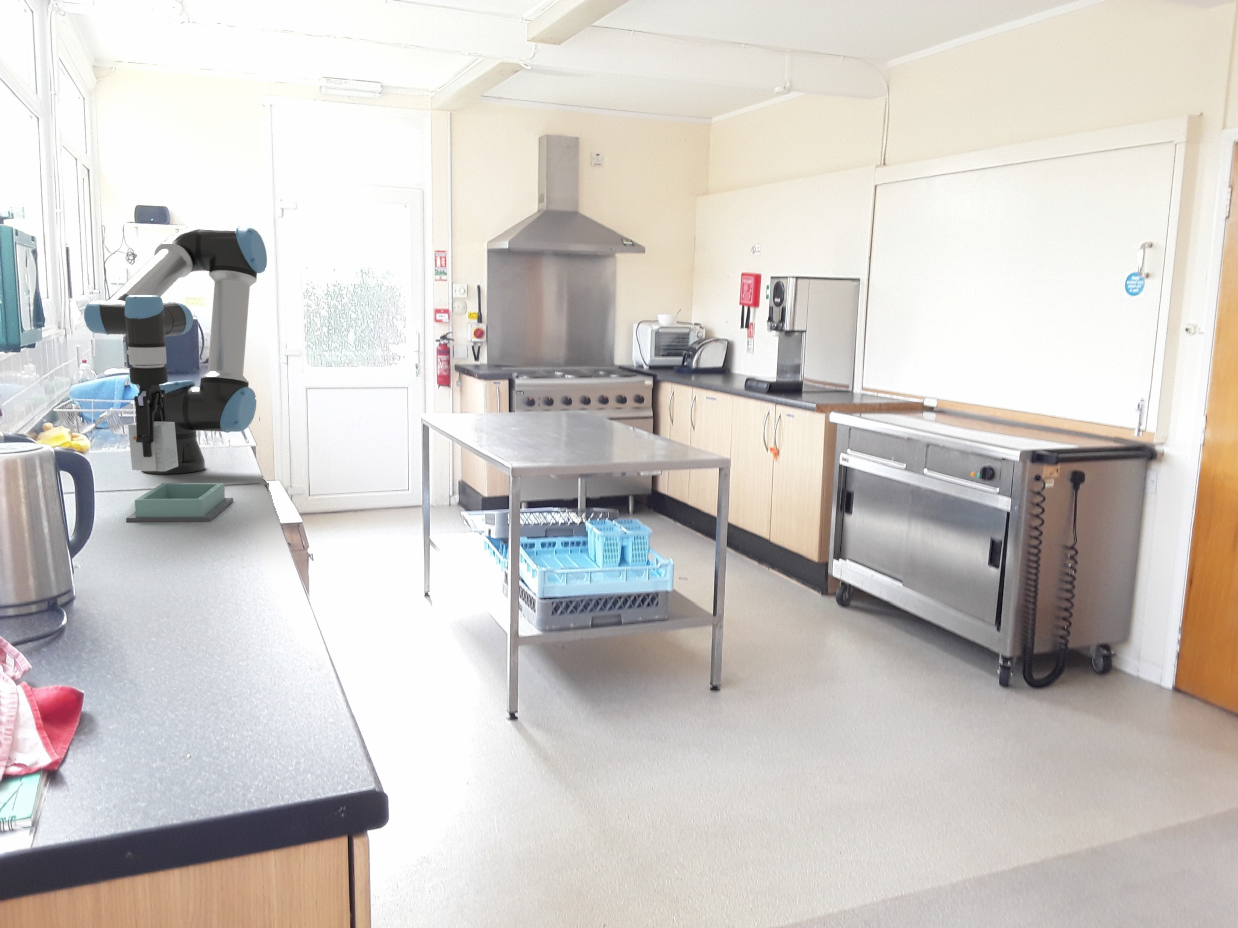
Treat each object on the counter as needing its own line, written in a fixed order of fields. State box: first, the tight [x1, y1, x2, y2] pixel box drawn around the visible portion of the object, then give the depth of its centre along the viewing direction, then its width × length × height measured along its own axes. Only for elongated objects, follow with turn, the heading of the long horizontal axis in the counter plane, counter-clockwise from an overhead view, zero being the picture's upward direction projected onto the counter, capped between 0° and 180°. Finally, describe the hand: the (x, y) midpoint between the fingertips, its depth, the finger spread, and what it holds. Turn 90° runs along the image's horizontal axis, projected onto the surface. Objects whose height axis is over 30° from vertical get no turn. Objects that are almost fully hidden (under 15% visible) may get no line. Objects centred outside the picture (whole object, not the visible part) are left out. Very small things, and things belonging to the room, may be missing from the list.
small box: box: [127, 421, 178, 472], centre depth 213 cm, size 8×6×10 cm
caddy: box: [125, 482, 234, 523], centre depth 201 cm, size 20×16×4 cm
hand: (155, 467), depth 214 cm, fingers closed on small box, 6 cm apart
